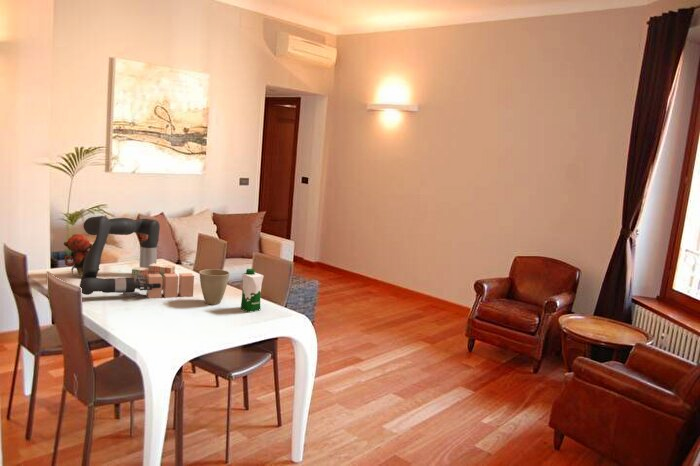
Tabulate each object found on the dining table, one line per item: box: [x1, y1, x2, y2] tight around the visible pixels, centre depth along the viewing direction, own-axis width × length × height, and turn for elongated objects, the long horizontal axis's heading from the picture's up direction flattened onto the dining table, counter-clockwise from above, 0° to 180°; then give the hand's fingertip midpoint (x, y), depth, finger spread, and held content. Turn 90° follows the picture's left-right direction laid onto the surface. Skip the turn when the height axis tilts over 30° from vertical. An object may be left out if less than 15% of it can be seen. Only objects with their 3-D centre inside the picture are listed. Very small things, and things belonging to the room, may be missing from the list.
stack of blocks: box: [131, 263, 176, 290], centre depth 300 cm, size 21×6×12 cm, turn 88°
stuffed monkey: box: [63, 233, 101, 277], centre depth 304 cm, size 15×17×25 cm
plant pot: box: [198, 268, 230, 306], centre depth 280 cm, size 15×15×16 cm
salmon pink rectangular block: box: [146, 274, 163, 299], centre depth 282 cm, size 6×6×11 cm
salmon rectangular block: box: [162, 273, 179, 299], centre depth 286 cm, size 6×6×11 cm
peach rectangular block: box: [178, 272, 195, 298], centre depth 289 cm, size 6×6×11 cm
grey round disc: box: [122, 291, 141, 297], centre depth 283 cm, size 8×8×1 cm
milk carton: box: [240, 268, 265, 312], centre depth 275 cm, size 9×9×20 cm
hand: (159, 283), depth 283 cm, fingers closed on salmon pink rectangular block, 6 cm apart
